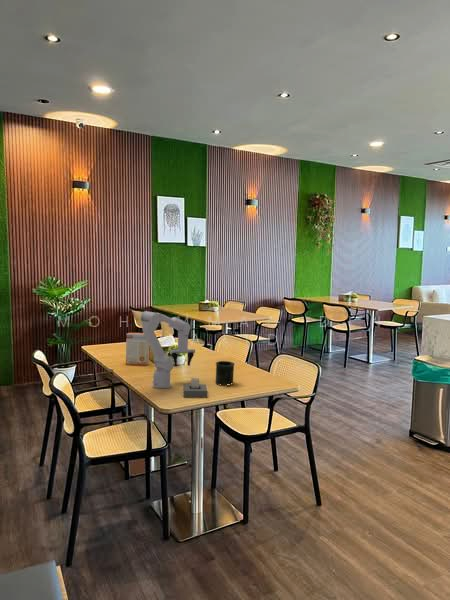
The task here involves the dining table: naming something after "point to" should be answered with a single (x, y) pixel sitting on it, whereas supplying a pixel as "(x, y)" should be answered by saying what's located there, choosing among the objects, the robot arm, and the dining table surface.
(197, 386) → the steel peg
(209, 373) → the dining table surface
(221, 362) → the mug
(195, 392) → the socket block
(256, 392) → the dining table surface
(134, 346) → the cracker box
